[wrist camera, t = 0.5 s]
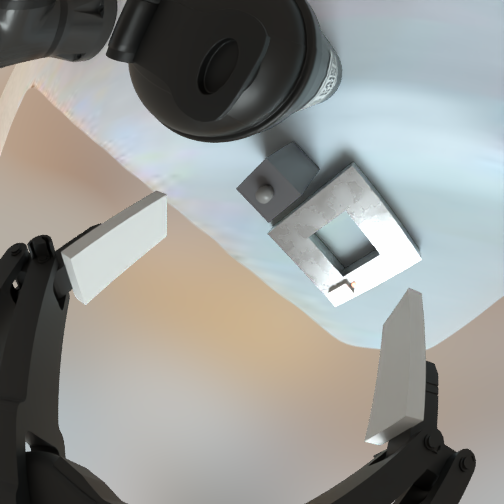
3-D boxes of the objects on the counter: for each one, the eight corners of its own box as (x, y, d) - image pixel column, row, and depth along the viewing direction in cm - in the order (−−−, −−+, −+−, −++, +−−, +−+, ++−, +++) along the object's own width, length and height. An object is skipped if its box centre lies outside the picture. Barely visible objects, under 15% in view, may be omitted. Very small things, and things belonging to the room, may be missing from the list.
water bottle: (316, 130, 29) (207, 208, 11) (244, 82, 29) (70, 101, 11) (368, 63, 22) (358, -14, 5) (289, 15, 22) (141, -69, 5)
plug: (268, 165, 34) (230, 193, 26) (293, 141, 31) (261, 161, 23) (293, 191, 34) (264, 228, 26) (319, 169, 31) (298, 200, 23)
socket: (272, 226, 38) (265, 236, 36) (353, 161, 29) (351, 167, 27) (337, 297, 40) (334, 309, 38) (420, 251, 31) (422, 262, 29)
